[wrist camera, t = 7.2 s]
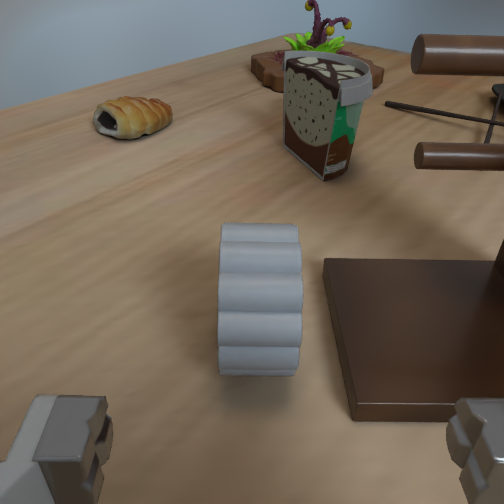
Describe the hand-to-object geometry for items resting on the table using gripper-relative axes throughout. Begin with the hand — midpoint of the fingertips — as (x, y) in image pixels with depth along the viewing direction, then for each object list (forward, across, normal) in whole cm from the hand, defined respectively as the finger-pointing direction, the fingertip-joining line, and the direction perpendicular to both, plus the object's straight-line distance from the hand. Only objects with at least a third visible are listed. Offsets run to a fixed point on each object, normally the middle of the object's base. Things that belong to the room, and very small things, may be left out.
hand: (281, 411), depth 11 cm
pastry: (+49, +14, +12) cm, 52 cm away
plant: (+73, -10, +12) cm, 75 cm away
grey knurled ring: (+13, 0, +12) cm, 18 cm away
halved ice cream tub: (+41, -8, +12) cm, 44 cm away
